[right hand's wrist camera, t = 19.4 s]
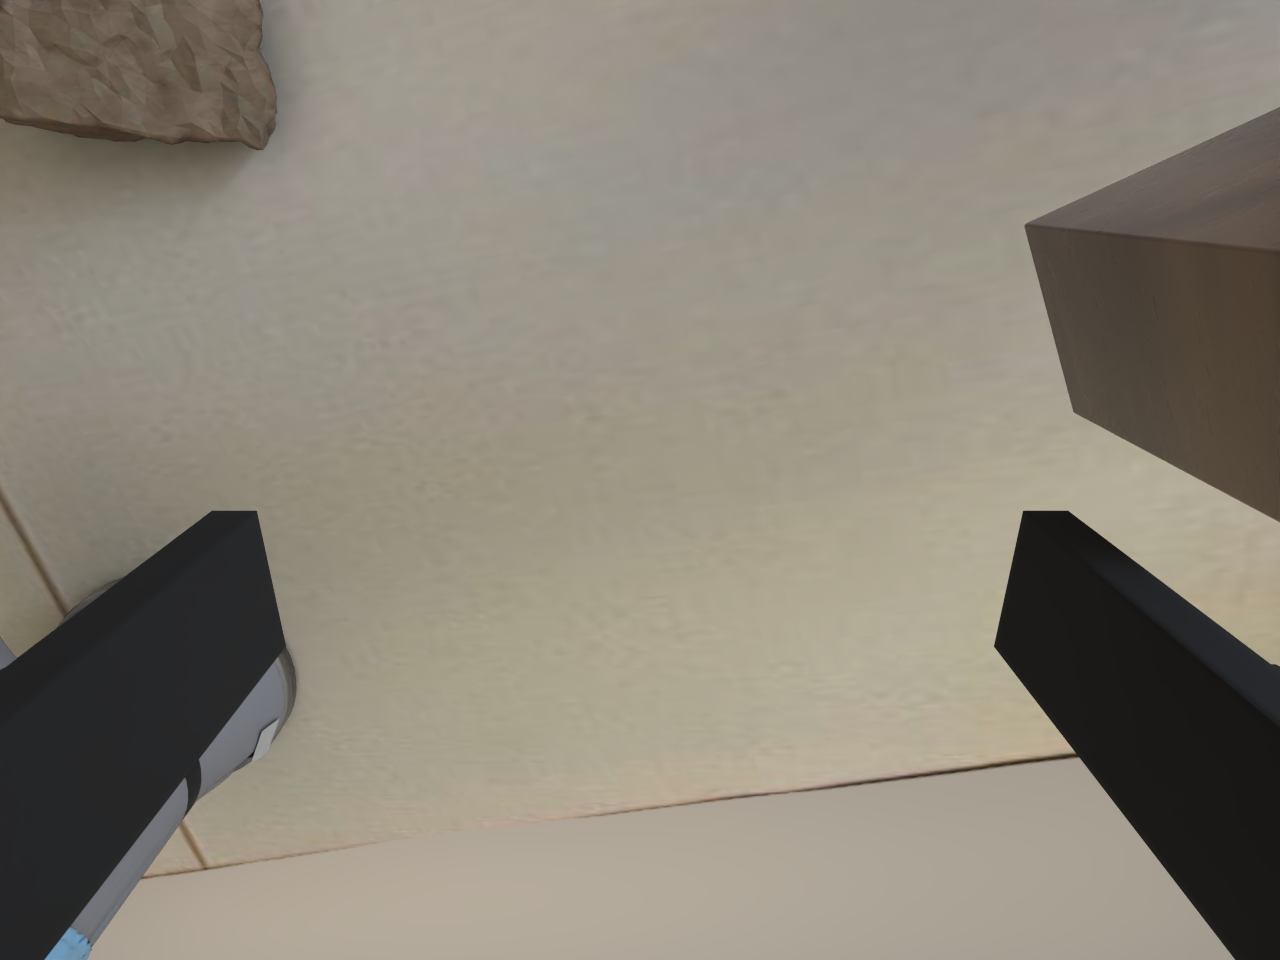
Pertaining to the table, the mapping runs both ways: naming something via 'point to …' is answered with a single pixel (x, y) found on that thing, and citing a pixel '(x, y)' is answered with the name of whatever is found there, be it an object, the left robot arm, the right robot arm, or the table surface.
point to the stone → (137, 69)
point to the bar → (1178, 308)
